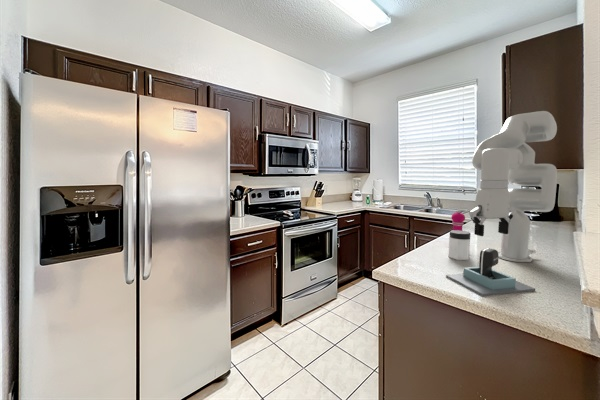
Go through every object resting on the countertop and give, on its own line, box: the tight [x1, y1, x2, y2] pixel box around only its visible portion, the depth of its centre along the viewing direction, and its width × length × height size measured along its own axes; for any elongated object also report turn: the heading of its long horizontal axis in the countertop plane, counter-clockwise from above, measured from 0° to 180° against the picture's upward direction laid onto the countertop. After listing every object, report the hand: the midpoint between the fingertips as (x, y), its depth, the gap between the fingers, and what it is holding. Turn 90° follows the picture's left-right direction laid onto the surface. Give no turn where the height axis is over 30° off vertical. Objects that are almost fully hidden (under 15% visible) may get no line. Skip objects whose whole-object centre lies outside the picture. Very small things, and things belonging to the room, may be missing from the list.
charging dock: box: [445, 266, 536, 297], centre depth 92 cm, size 20×16×4 cm
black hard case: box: [478, 247, 499, 279], centre depth 91 cm, size 7×4×11 cm, turn 125°
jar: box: [448, 229, 471, 261], centre depth 120 cm, size 9×8×12 cm
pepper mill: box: [450, 209, 466, 231], centre depth 135 cm, size 7×7×20 cm
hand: (491, 234), depth 90 cm, fingers open, 9 cm apart
